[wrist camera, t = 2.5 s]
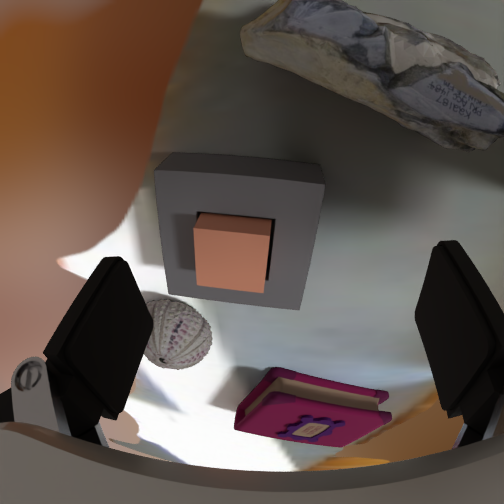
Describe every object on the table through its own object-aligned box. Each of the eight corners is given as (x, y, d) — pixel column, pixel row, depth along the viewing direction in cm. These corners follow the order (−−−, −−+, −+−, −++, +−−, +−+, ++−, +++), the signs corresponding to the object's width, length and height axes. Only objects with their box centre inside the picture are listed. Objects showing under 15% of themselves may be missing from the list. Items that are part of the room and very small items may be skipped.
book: (337, 426, 69) (338, 451, 63) (236, 405, 65) (231, 434, 59) (390, 390, 57) (395, 420, 51) (274, 363, 53) (271, 399, 47)
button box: (319, 164, 31) (325, 184, 27) (299, 280, 41) (299, 310, 36) (172, 152, 32) (153, 170, 28) (180, 266, 42) (168, 294, 37)
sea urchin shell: (123, 298, 47) (104, 335, 41) (193, 284, 43) (178, 327, 37) (163, 349, 54) (151, 384, 48) (229, 342, 50) (221, 382, 44)
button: (271, 219, 30) (269, 236, 28) (265, 274, 34) (263, 293, 32) (201, 212, 31) (193, 228, 28) (203, 267, 35) (196, 285, 32)
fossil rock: (266, 68, 29) (209, 48, 16) (296, -4, 24) (260, -67, 11) (437, 151, 28) (498, 190, 15) (469, 80, 23) (545, 75, 10)
